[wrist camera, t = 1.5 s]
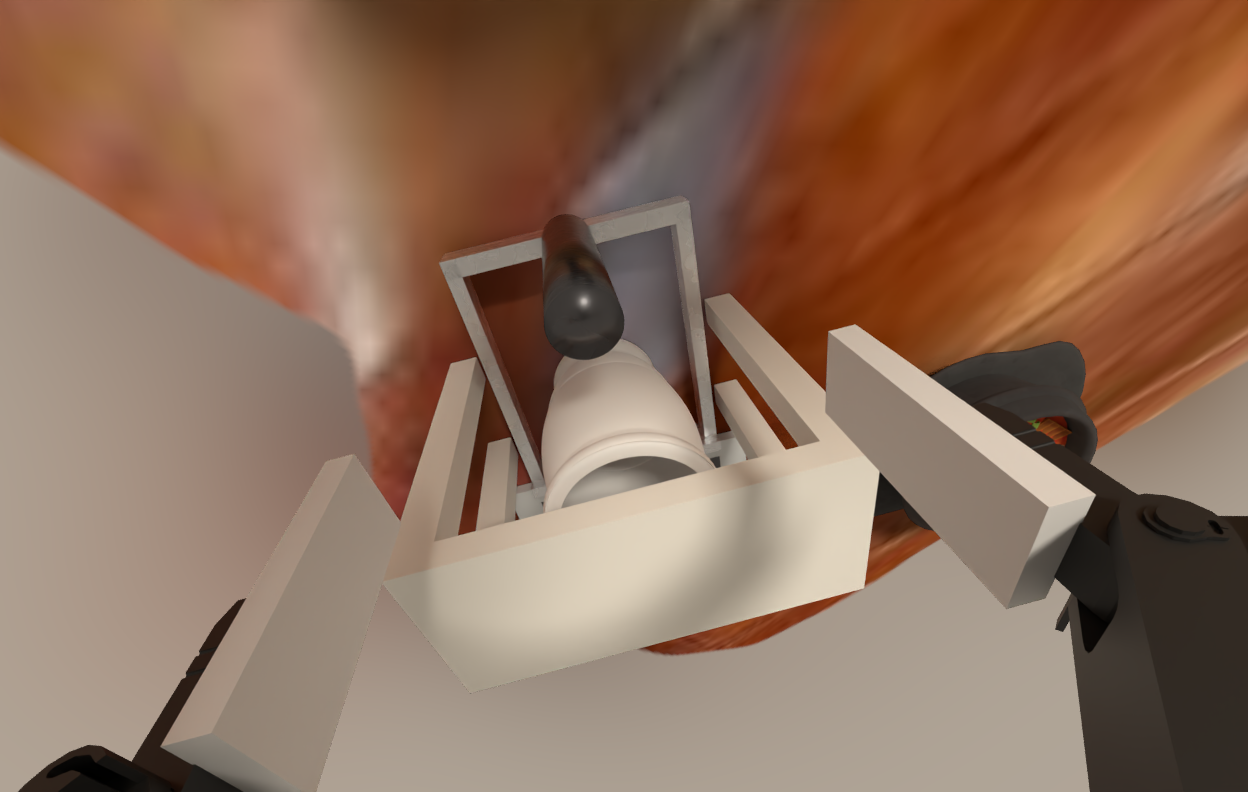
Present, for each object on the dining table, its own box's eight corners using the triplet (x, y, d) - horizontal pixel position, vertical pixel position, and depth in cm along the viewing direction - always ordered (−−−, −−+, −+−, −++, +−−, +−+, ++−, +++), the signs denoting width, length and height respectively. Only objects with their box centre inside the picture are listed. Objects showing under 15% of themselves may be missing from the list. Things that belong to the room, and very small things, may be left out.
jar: (691, 379, 40) (761, 507, 28) (604, 452, 43) (631, 598, 31) (606, 295, 35) (644, 405, 23) (513, 384, 38) (501, 525, 26)
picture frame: (437, 238, 31) (369, 338, 18) (679, 178, 31) (776, 236, 18) (535, 474, 42) (534, 635, 29) (710, 428, 42) (783, 568, 30)
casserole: (849, 530, 55) (895, 594, 48) (804, 423, 45) (853, 483, 38) (1065, 427, 51) (1149, 480, 44) (1067, 286, 41) (1175, 325, 34)
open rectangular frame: (450, 363, 36) (380, 582, 20) (729, 292, 37) (882, 450, 20) (536, 547, 48) (536, 777, 32) (745, 492, 49) (849, 691, 33)
